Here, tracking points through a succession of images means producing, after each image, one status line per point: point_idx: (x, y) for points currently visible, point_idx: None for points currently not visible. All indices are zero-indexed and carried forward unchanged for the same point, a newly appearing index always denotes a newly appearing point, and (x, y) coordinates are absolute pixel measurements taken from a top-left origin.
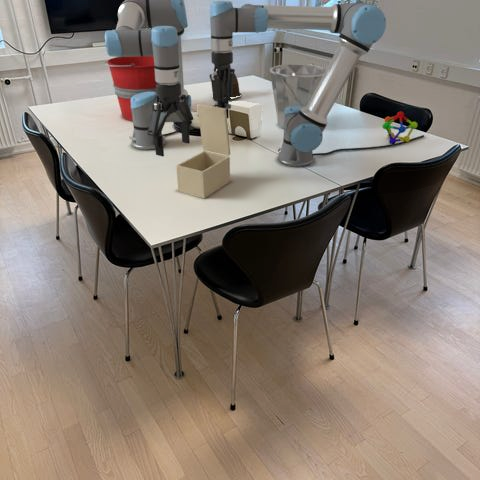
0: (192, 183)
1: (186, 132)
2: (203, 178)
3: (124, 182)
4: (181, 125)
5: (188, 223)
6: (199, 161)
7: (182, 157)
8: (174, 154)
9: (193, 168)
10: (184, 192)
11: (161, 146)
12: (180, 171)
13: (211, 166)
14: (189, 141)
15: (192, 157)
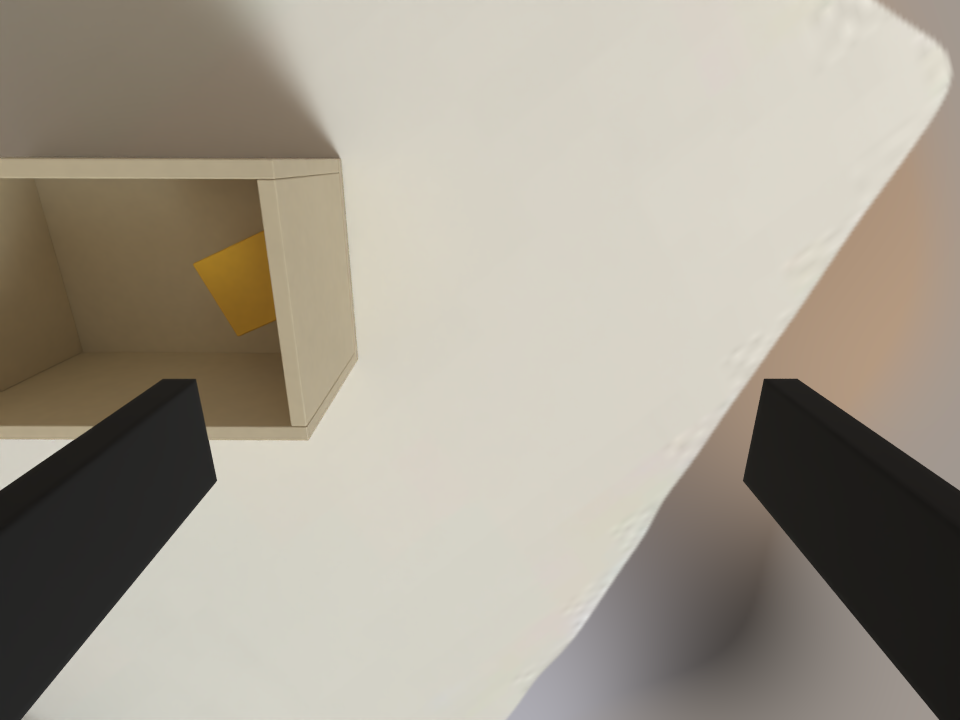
0: (326, 263)
1: (81, 503)
2: (289, 158)
3: (446, 628)
4: (14, 712)
5: (672, 28)
6: (60, 399)
7: None
8: None
9: None
10: (353, 315)
11: (909, 456)
12: (317, 387)
13: (114, 172)
14: (151, 390)
15: None
